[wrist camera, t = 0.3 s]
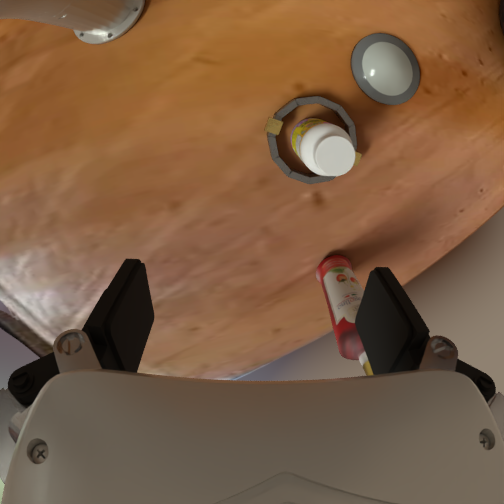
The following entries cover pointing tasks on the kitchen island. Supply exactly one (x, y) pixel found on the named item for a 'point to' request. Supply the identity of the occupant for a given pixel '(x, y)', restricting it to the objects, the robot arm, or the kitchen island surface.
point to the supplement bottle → (323, 147)
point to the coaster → (385, 69)
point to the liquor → (343, 306)
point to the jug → (502, 14)
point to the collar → (275, 124)
